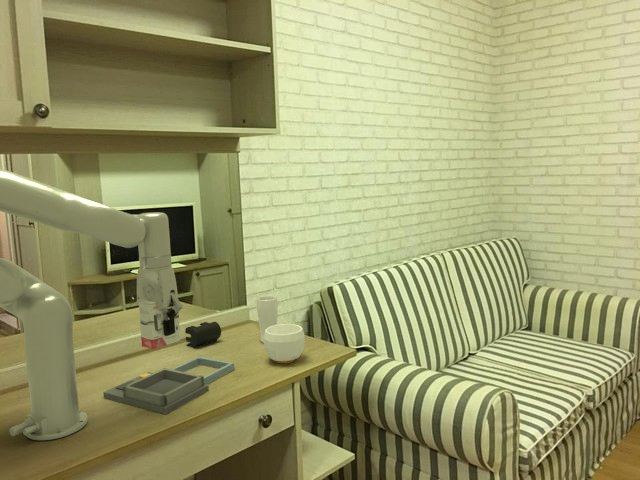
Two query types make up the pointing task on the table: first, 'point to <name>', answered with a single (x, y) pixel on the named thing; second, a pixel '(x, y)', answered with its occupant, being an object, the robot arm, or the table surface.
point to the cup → (284, 342)
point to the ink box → (155, 326)
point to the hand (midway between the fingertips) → (160, 332)
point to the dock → (159, 390)
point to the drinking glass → (266, 313)
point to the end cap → (203, 334)
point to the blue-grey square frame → (223, 365)
